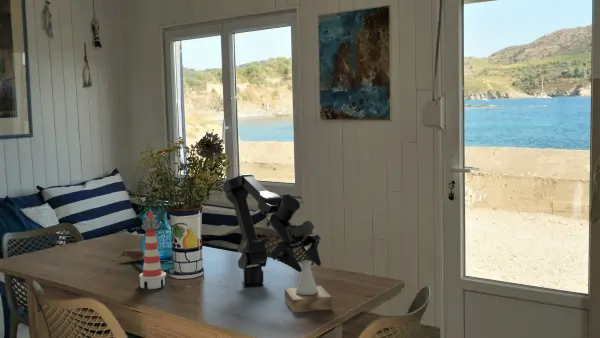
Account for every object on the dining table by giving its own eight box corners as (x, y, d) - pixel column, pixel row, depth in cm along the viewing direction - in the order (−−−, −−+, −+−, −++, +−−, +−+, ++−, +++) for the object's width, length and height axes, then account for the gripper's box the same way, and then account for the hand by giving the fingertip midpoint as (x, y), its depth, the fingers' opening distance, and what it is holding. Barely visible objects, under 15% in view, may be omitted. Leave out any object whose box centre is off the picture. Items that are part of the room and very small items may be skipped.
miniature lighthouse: (171, 283, 220) (168, 199, 217) (157, 290, 211) (154, 203, 208) (149, 281, 223) (146, 198, 220) (134, 288, 214) (131, 202, 211)
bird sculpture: (180, 260, 252) (180, 248, 251) (117, 264, 247) (116, 252, 246) (180, 256, 258) (180, 245, 258) (118, 260, 253) (118, 248, 253)
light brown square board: (293, 312, 187) (293, 299, 187) (284, 300, 199) (284, 288, 198) (331, 309, 190) (331, 296, 190) (320, 297, 202) (320, 285, 201)
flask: (314, 296, 190) (314, 265, 188) (292, 294, 192) (292, 263, 191) (321, 290, 196) (321, 259, 195) (299, 288, 199) (299, 257, 198)
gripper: (276, 217, 187) (304, 259, 181) (316, 209, 201) (343, 247, 195) (258, 239, 193) (285, 280, 187) (298, 230, 207) (324, 267, 201)
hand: (310, 268), depth 192 cm, fingers open, 9 cm apart
